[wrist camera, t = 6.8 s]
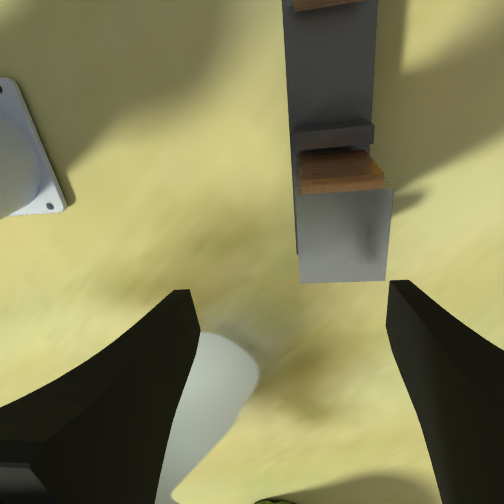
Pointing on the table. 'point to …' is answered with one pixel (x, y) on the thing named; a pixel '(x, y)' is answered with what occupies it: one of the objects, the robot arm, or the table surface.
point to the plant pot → (268, 503)
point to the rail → (329, 75)
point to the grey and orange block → (342, 217)
